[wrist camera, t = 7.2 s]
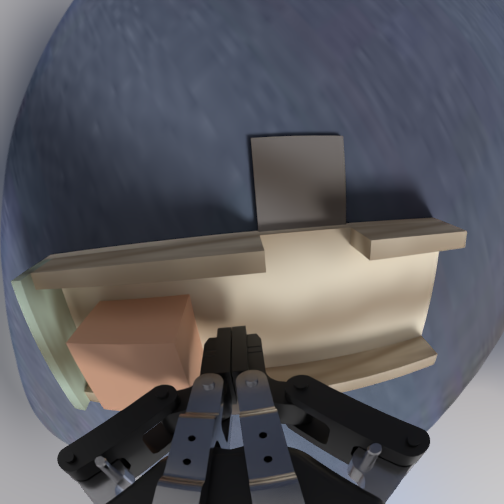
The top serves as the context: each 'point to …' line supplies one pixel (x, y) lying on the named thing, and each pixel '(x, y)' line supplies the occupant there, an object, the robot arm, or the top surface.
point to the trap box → (267, 279)
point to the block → (137, 348)
